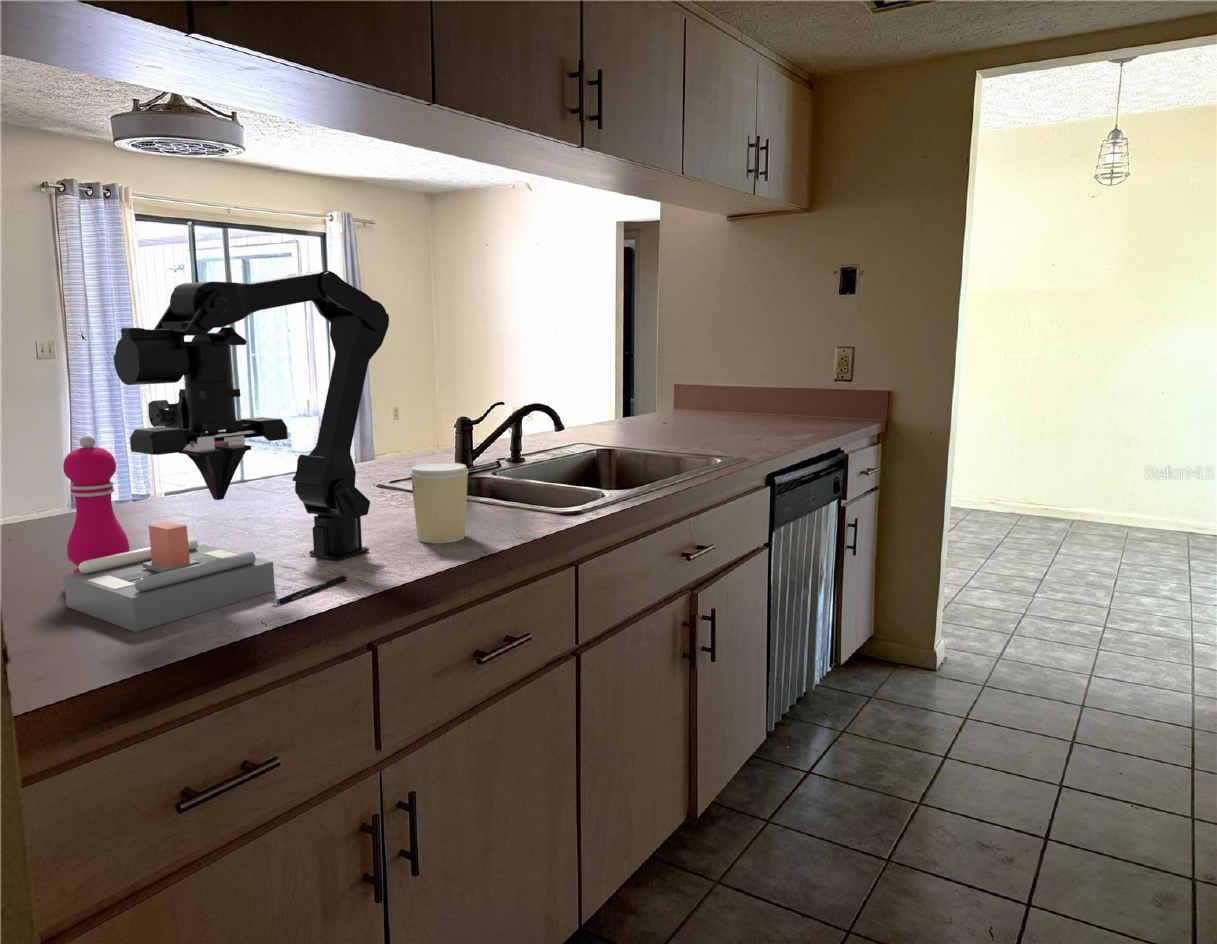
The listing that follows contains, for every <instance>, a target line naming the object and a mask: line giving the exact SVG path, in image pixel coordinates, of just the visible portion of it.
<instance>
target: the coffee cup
mask: <svg viewBox="0 0 1217 944" xmlns="http://www.w3.org/2000/svg"><path fill="white" fill-rule="evenodd" d="M409 472H410V477H411V485H412V486H411V487H412V497H413V498H412V499H413V506H414V507H413V508H414V516H415V525H416V526H415V527H416V533H417V534H416V535H417V539H418V541H419V542H423V543H426V544H427V543H428V544H450V543H455V542H458V541H461V540H463V539H464V538H465V536H466V528H467V527H466V525H467V506H468V505H467V499H468V497H467V496H468V475H469V469H468V468H467V465H466V464H465V463H464V464H463V463H459V462H429V463H420V464H417V465H414V466H412V467H411V470H410V471H409Z"/></svg>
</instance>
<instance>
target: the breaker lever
mask: <svg viewBox="0 0 1217 944" xmlns="http://www.w3.org/2000/svg"><path fill="white" fill-rule="evenodd" d="M148 534H149V535H148V536H149V545H150V546H149V547H151V557H152V561H150V562H145V563H142V565H143V568H145V569H149V570H152V571H156V572H159V573H164V572H168V571H172V570H176V569H180V568H184V567H188V566H193V565H197V564H199V561H196V560H192V559H189V547H188V539H189V536H188V527H187V525H184V524H181V523H177V522H176V523H175V522H172V521H168V520H167V521H163V522H157V523H152V524H151V523H150V524H148Z"/></svg>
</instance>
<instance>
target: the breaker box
mask: <svg viewBox="0 0 1217 944" xmlns="http://www.w3.org/2000/svg"><path fill="white" fill-rule="evenodd" d="M188 547H189V559H192V560H196V561H199V564H197V565H193V566H188V567H184V568H180V569H176V570H172V571H168V572H164V573H159V572H156V571H152V570H149V569H145V568H143V565H142V563H145V562H150V561H152V557H151V546H148V547H145V548H140V549H135V550H134V549H133V550H131V551H130V550H129V552H125V553H120V554H116V555H111V556H106V557H101V558H97V559H92V560H87V561H83V562H82V563H80V565H79V571H80V572H77V573H74V572H73V573H69V574H65V575H63V584H64V593H65V594H64V595H65V602H66V607H67V608H70V609H72V610H75V611H77V612H80V613H83V614H86V615H88V616H91V617H94V618H96V619H99V620H102V621H105V622H108V623H110V624H113V625H115V626H117V627H118V626H119V627H121V628H123V629H126V630H128V631H131V632H135V633H137V632H141V631H145V630H147V629H151V628H154V627H158V626H160V625H164V624H167V623H168V624H169V623H171V622H174V621H179V620H181V619H184V618H189V617H191V616H195V615H197V614H202V613H204V612H209V611H211V610H216V609H219V608H222V607H225V606H229V605H232V604H235V603H238V602H239V603H240V602H242V601H246V600H248V599H252V598H256V597H259V596H262V595H266V594H269V593H273V592H275V591H276V588H275V570H274V561H273V560H267V559H263V558H259V557H256V555H255V553H254V552H253V551H247V552H242V553H239V552H235V551H230V550H226V549H223V548H218V547H214V546H209V545H206V544H199V542H198V540H197V539H196V538H195V537H191V538H188Z"/></svg>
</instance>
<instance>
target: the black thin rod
mask: <svg viewBox="0 0 1217 944" xmlns="http://www.w3.org/2000/svg"><path fill="white" fill-rule="evenodd" d="M347 578H348V576H346V575H339V576H337V577H334V578H332V579H330V580H327V581H324V582H323V583H319V584H317V585H314V586H310V587H306V588H304V589H300V590H298V591H296V592H292V593H291V594H287V595H285V596H282V597H281V598H278V599H276V600H275V601H270V604H272V605H271V607H274V608H275V607H277V606H281V605H282V606H283V605H285V604H286V603H290V602H292V601H293V600H297V599H299V598H302V597H306V596H308V595H312V594H314V593H318V592H320V591H323V590H325V589H328V588H330V587H331V586H334V585H335V586H336V585H338V584H342V583H345V582H346V581H347ZM347 582H348V581H347Z"/></svg>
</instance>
